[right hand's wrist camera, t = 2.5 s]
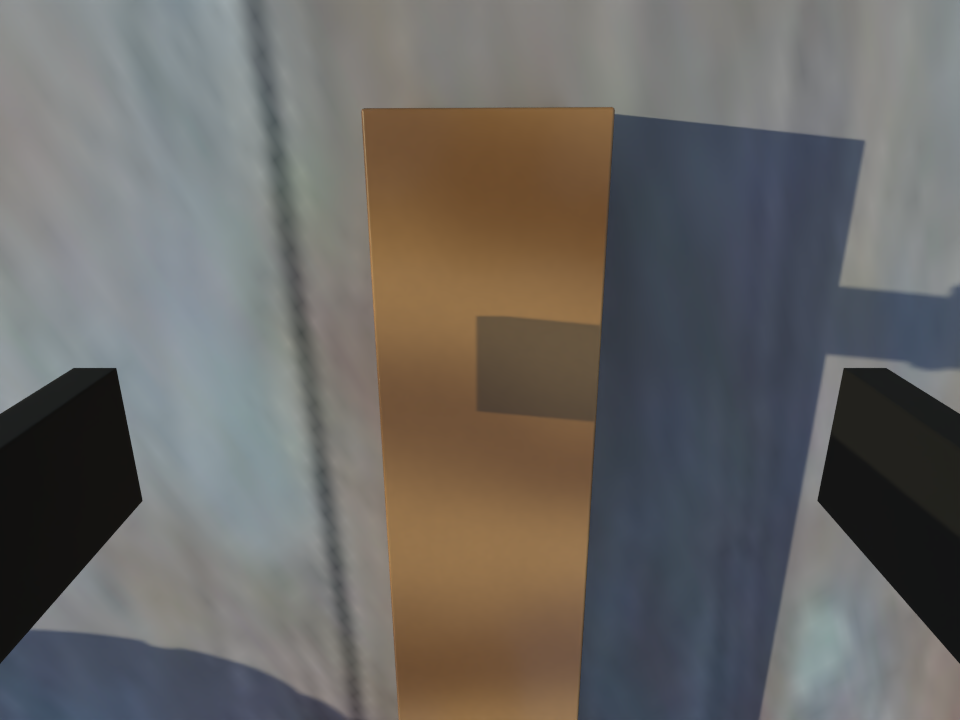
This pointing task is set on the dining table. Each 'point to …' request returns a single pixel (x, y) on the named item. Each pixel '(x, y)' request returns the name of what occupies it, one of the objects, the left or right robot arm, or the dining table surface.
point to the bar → (488, 396)
